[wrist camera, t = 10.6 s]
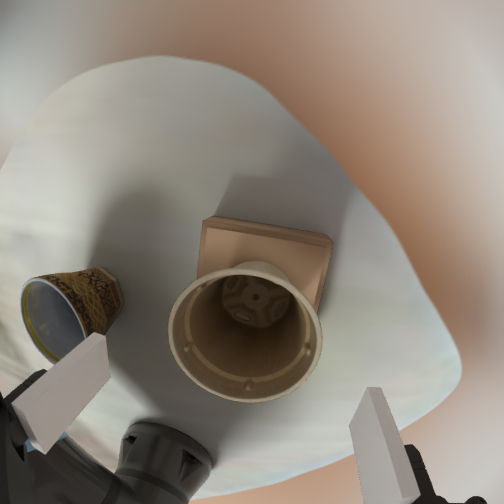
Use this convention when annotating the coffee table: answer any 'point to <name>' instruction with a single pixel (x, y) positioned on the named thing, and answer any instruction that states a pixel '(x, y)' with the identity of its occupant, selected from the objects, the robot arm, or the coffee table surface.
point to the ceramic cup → (69, 309)
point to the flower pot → (245, 333)
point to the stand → (266, 253)
